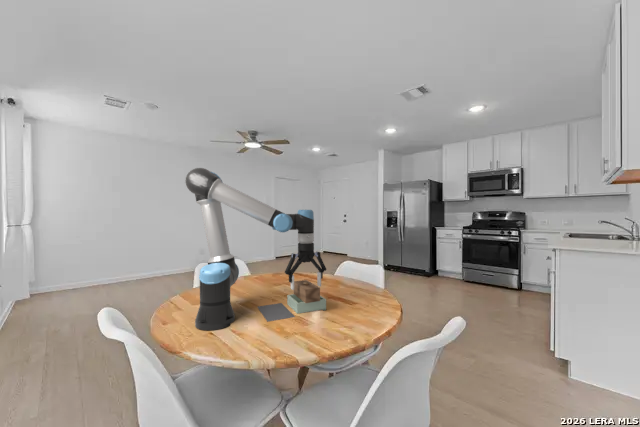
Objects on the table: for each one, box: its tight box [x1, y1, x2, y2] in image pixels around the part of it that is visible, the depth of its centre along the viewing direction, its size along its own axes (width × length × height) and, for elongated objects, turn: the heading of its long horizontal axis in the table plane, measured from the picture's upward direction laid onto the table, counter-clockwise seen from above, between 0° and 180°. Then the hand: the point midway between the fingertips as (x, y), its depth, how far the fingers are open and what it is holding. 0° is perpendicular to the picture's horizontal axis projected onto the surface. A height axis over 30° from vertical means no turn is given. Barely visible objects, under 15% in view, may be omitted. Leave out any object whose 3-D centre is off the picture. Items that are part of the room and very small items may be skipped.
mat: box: [256, 302, 296, 323], centre depth 122 cm, size 12×20×1 cm, turn 25°
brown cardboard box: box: [292, 279, 321, 303], centre depth 128 cm, size 7×16×7 cm, turn 25°
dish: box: [286, 293, 327, 315], centre depth 129 cm, size 14×14×5 cm
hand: (306, 287), depth 129 cm, fingers open, 13 cm apart
